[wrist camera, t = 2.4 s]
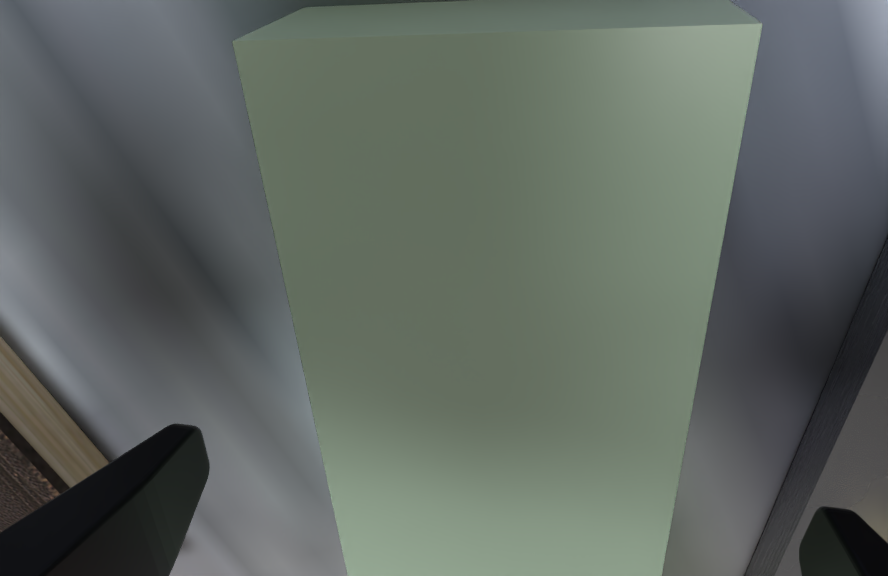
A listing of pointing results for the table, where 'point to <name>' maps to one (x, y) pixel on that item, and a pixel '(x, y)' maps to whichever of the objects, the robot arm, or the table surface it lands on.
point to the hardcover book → (36, 443)
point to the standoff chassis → (839, 441)
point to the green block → (501, 265)
